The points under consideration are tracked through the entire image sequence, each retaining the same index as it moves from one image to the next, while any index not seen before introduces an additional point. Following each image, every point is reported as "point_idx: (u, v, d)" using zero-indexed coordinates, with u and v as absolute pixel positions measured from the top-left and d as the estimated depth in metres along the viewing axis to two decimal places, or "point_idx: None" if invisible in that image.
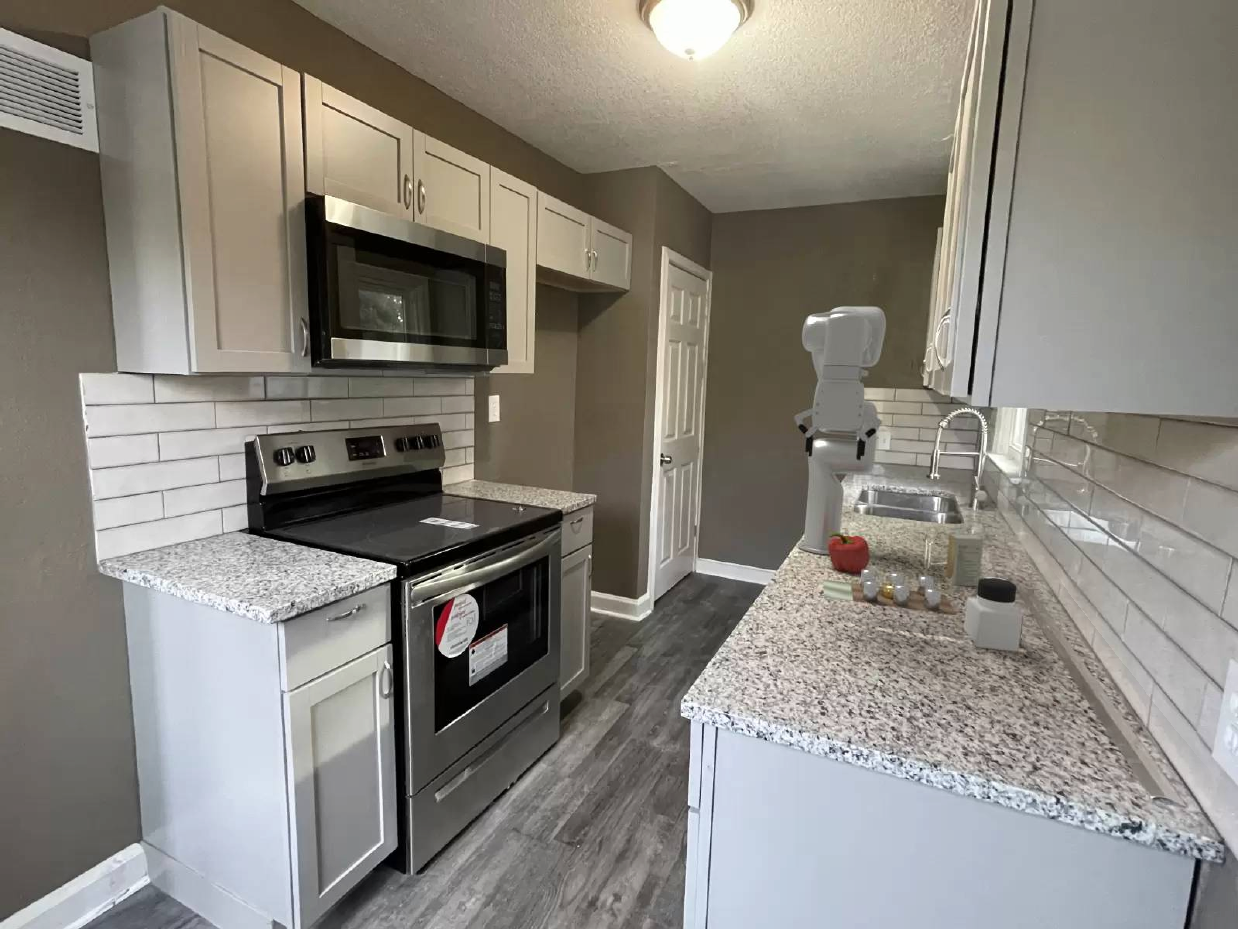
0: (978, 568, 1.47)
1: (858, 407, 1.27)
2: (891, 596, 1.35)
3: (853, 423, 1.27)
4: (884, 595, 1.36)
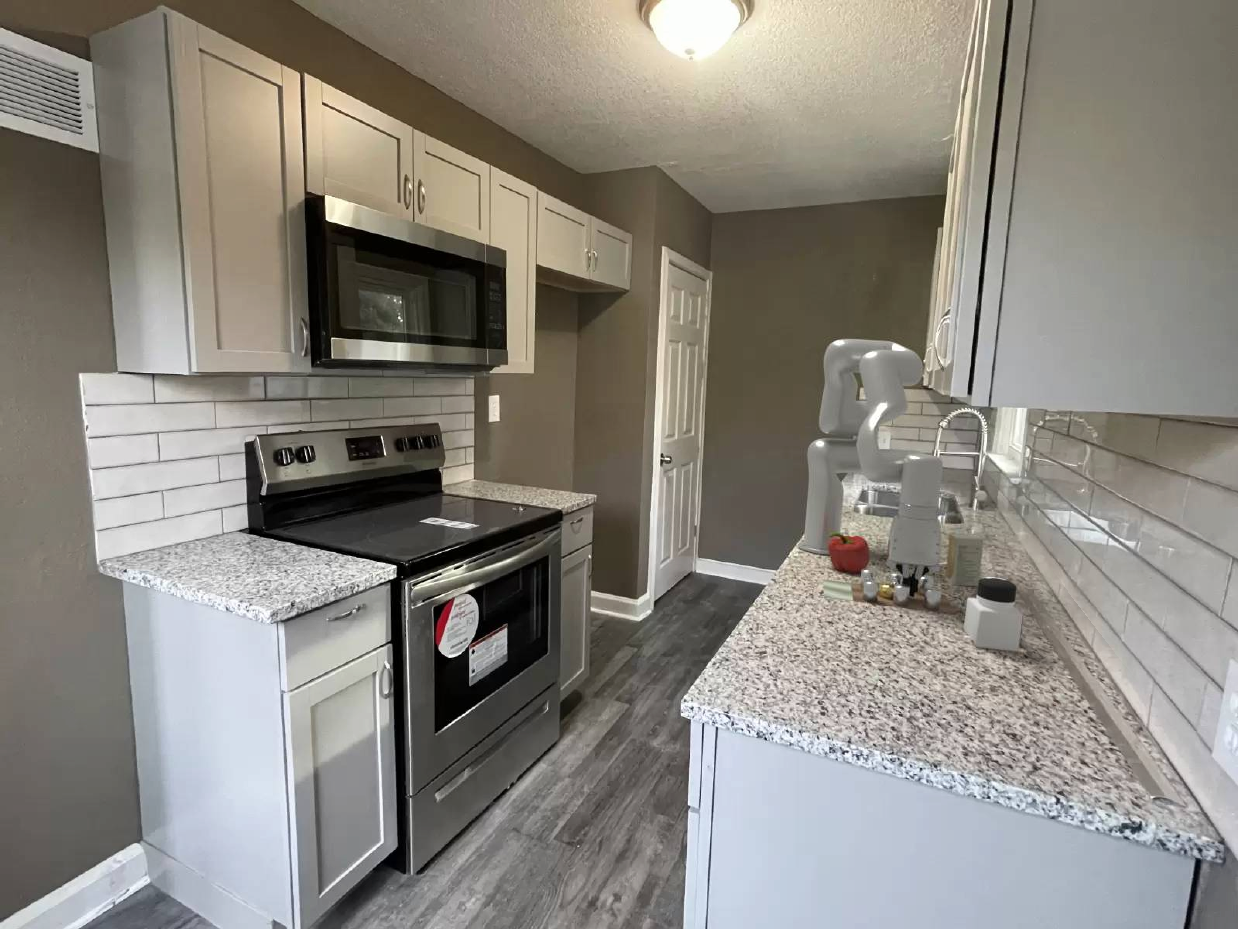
0: (978, 568, 1.47)
1: (936, 545, 1.31)
2: (887, 596, 1.35)
3: (930, 560, 1.32)
4: (880, 595, 1.37)
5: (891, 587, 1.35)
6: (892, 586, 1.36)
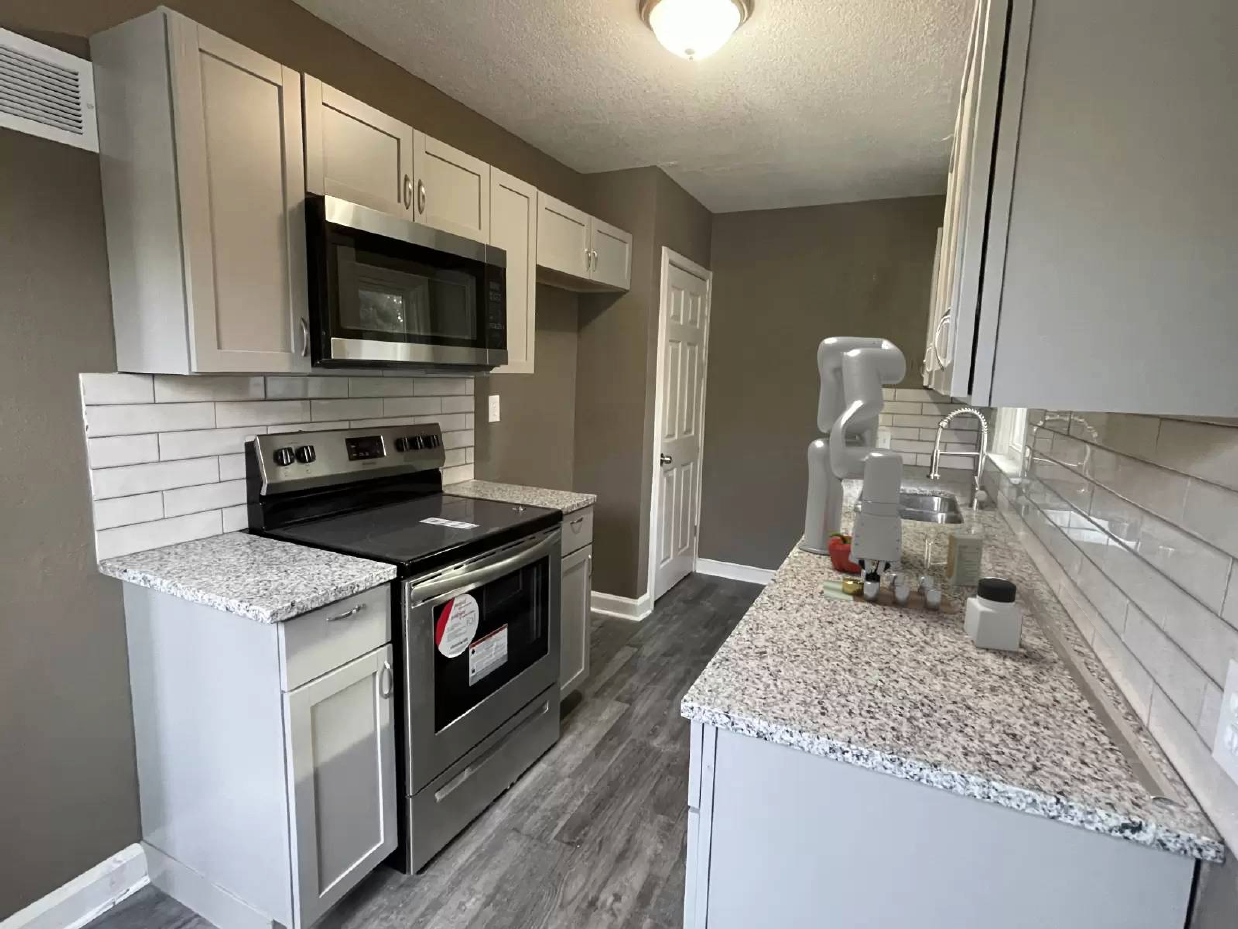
0: (978, 568, 1.47)
1: (896, 541, 1.33)
2: (851, 592, 1.37)
3: (891, 555, 1.34)
4: (844, 591, 1.38)
5: (855, 583, 1.37)
6: (856, 582, 1.38)
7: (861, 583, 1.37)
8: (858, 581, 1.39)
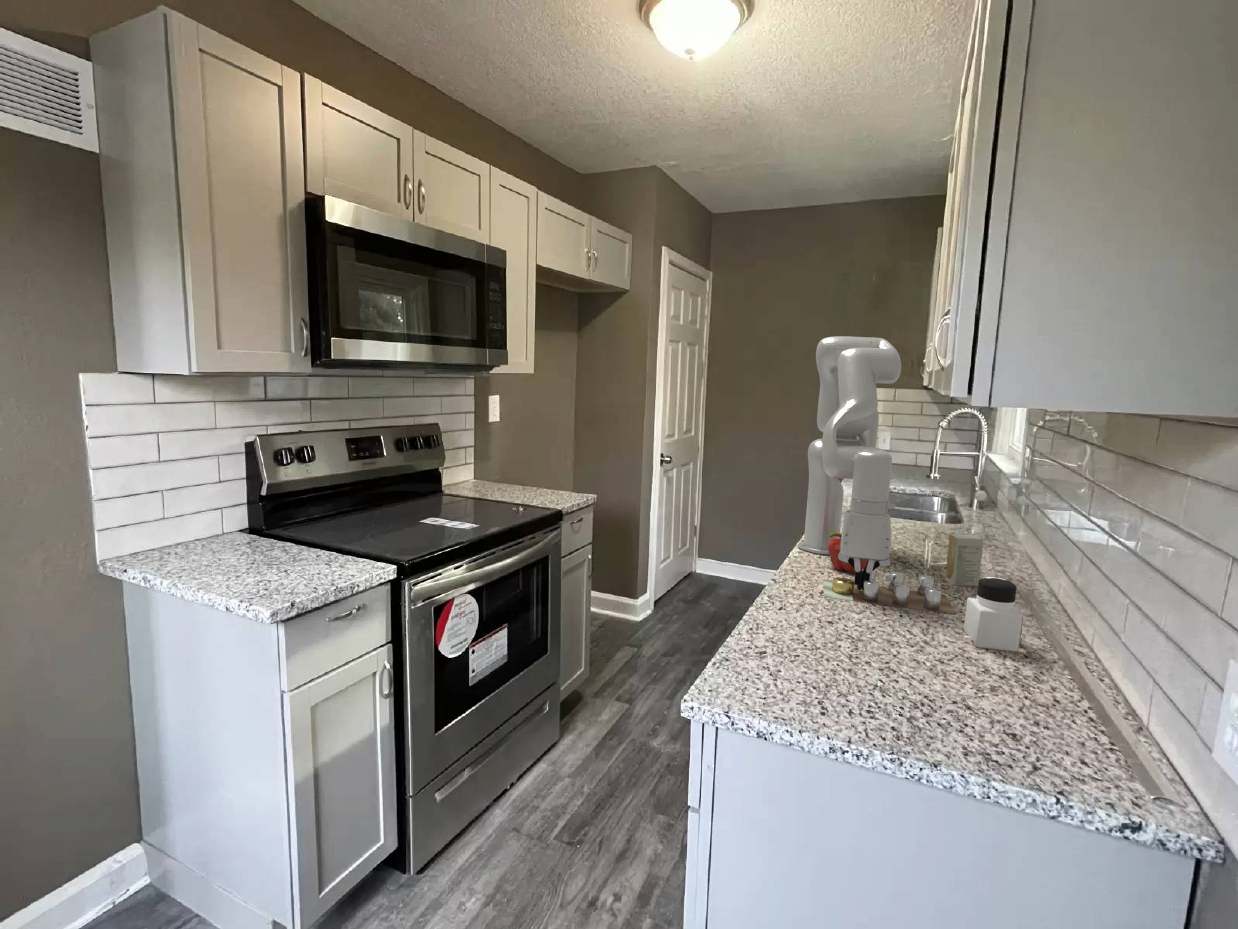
0: (978, 568, 1.47)
1: (885, 539, 1.34)
2: (842, 591, 1.37)
3: (880, 554, 1.35)
4: (835, 590, 1.38)
5: (845, 582, 1.37)
6: (846, 581, 1.38)
7: (851, 582, 1.38)
8: (848, 580, 1.39)
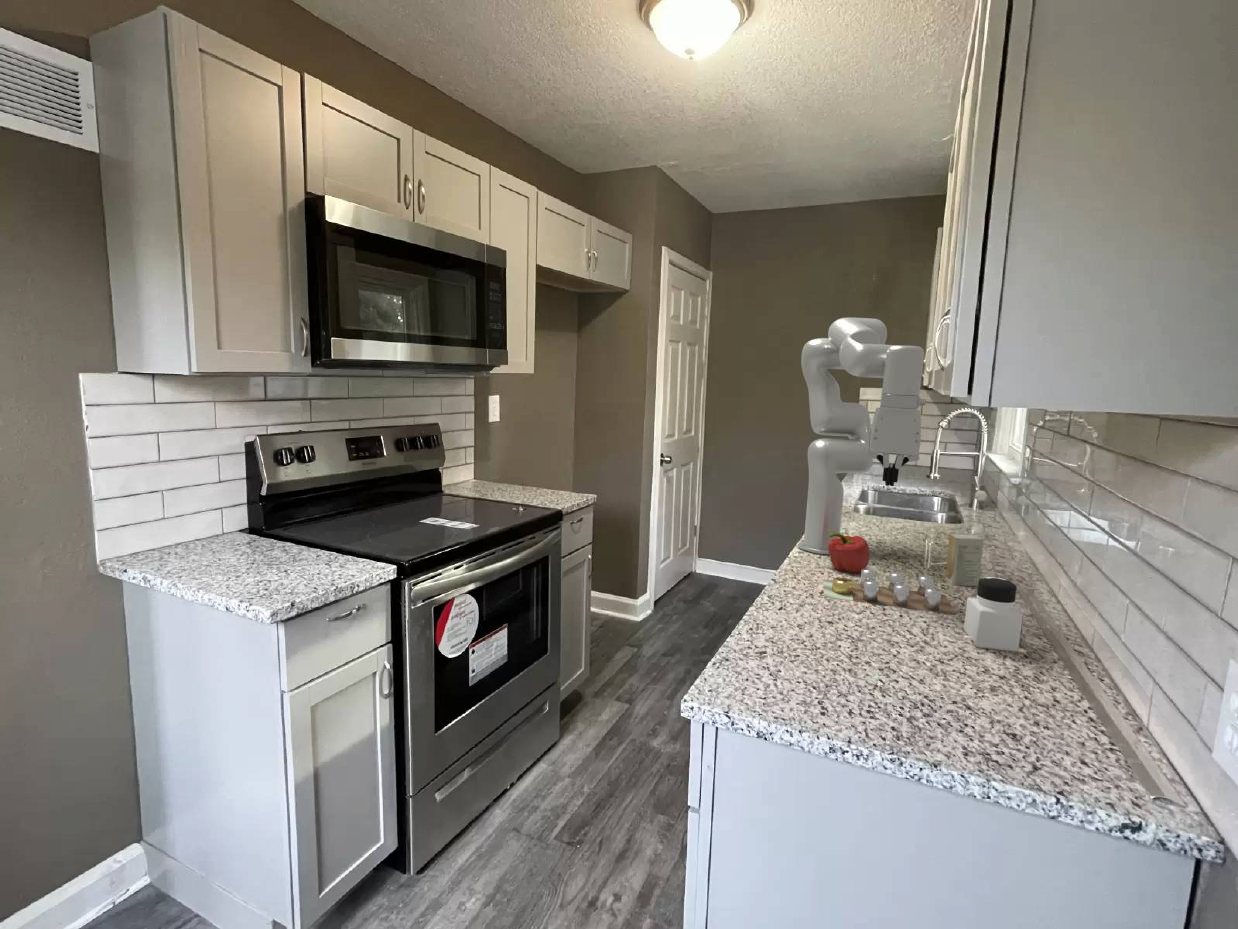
0: (978, 568, 1.47)
1: (915, 434, 1.35)
2: (842, 591, 1.37)
3: (910, 448, 1.35)
4: (835, 590, 1.38)
5: (845, 583, 1.37)
6: (846, 581, 1.38)
7: (851, 582, 1.38)
8: (848, 580, 1.39)
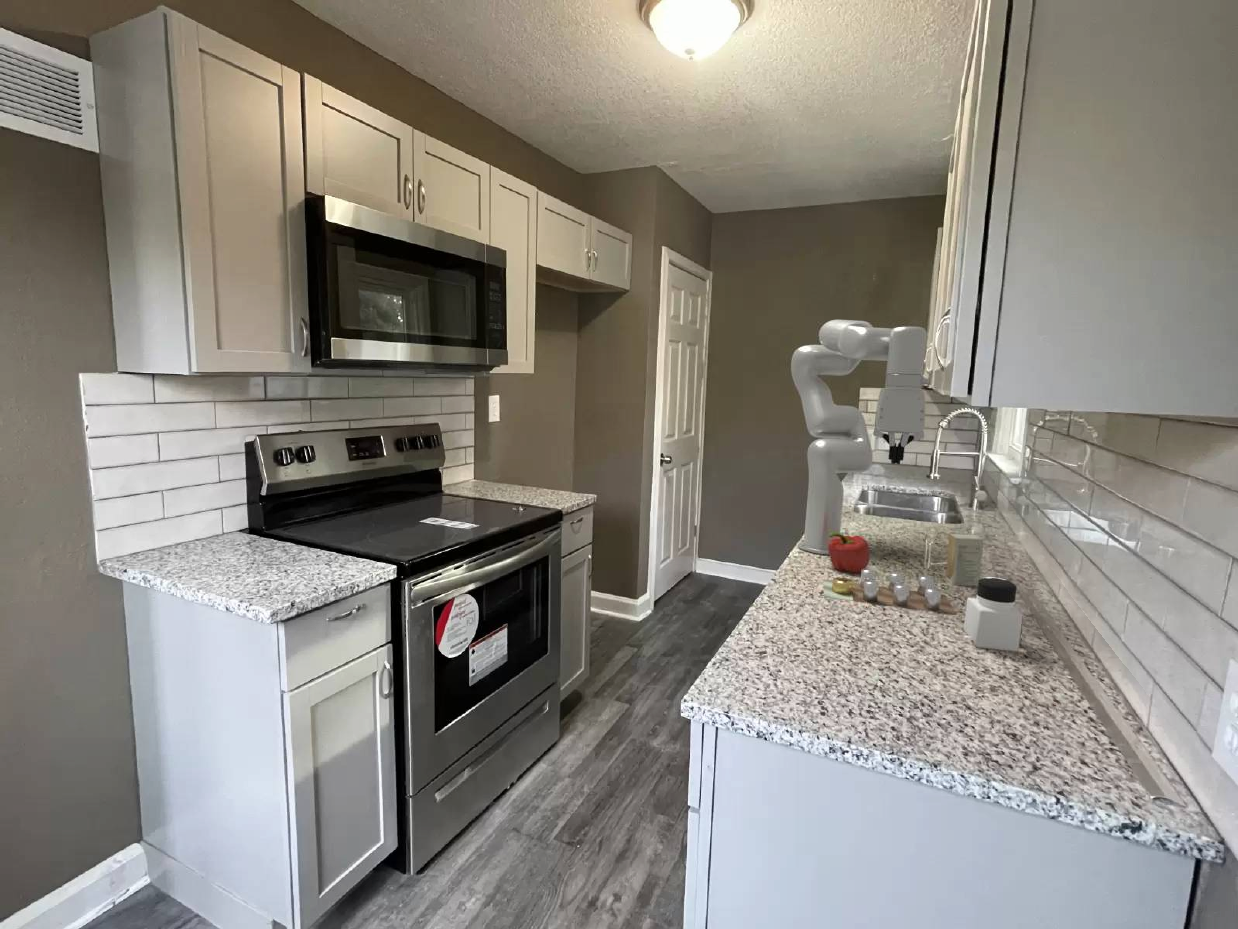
0: (978, 568, 1.47)
1: (920, 412, 1.39)
2: (842, 591, 1.37)
3: (915, 426, 1.39)
4: (835, 590, 1.38)
5: (845, 583, 1.37)
6: (846, 581, 1.38)
7: (851, 582, 1.38)
8: (848, 580, 1.39)
